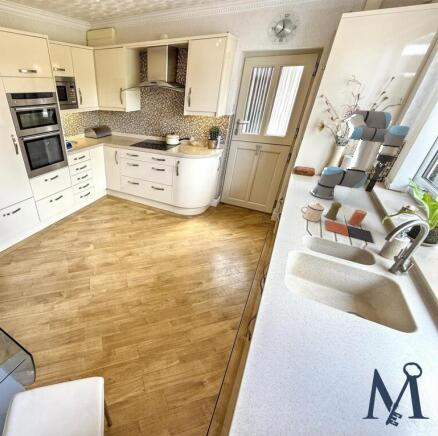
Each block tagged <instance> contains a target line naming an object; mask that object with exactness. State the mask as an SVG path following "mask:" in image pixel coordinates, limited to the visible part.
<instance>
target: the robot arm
mask: <svg viewBox="0 0 438 436" xmlns="http://www.w3.org/2000/svg"><path fill="white" fill-rule="evenodd" d="M391 122H392V114H391V113H390V112H388V111H379V110H364V109H363V110H357V111H354V112H352V113H350V114H349V115H348V116H347V117H346V119H345V125H346V127H347V128H349V129H350V131H349V133H348V139H349V140H354V141H359V142H358V144H357V147H356V149H355V152H354V155H353V157H352V160H351V163H350V165H349V166H348V167H346V168H345V170H344V168H343V167H339V166H326V167H324V169H323V170H322V172H321V173H320V174H319V175H320V177H319V179H318V182H317V184H316V185H315V186H314V187H313V188H312V189H311V191H310V194H311V195H312V196H314V197H316V198H319V199H323V200H332V199H333V198H334V197H335V188H336V186H340V187H345V188H349V189H357V190H358V189H360V188H361V187H363V185H364V184H365V183H366V182H367V179H368V174H367V170H366V166H367V163H368V161H369V159H370V156H371V153H372V151H373V149H374V146H375V144H376V143H380V144H382V145H381V146H380V149H379V151H378V154H377V155H376V157H375V161H377V162H379V163H377V164H376V165H375V168H374V172H373V174H372V176H371V178H369V179H368V181H369V182H368V184H367V186H366V187H365V190H364V191H365V192H367V193H372V191H373V190H374V188H375V186H376V184H377V182H378V180H380V178H381V177H380V175H381V173H383V171H384V170H385V169H386V167H387V165H386V164H387V163H389V164H390V163H393V162H394V160H395V158H396V155H397V154H398V152H400V151H401V149H400V148H401V147H402V146H403V145H402V144H403V143H404V141H405V139H406V138H407V135H408V134H409V131H410V126H407V125H392V126H391V127H390V129H388V128H389V126H390V124H391Z"/></svg>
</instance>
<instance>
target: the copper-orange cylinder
mask: <svg viewBox="0 0 438 436" xmlns="http://www.w3.org/2000/svg"><path fill="white" fill-rule="evenodd" d="M367 214H368V212H367V211H365V210H363V209H359V208H358V209H356V208H355V209H354V211H353V213H352V215H351V217H350V218H349V220H348V223H349V224H350V226H351V225H352V226H353V227H360V226H361V225H362V223H363V221H364V219H365V218H366V216H367Z"/></svg>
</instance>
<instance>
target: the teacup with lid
mask: <svg viewBox="0 0 438 436" xmlns="http://www.w3.org/2000/svg"><path fill="white" fill-rule="evenodd" d="M303 209H306V210H305V211H303ZM324 211H325V207H324V206H323V205H321V202H318V201H316V202H310V203H308V204H307V206H306V205H303V206H301V207H300V212H301V213H302V214H303V218H304V219H305V220H307V221H310V222H315V223H316V222H319V220H321V219H320V218H321V216H322V214H323V212H324Z"/></svg>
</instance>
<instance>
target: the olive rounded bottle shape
mask: <svg viewBox="0 0 438 436" xmlns="http://www.w3.org/2000/svg"><path fill="white" fill-rule="evenodd" d="M330 206H331V207H330V208H329V209H328V211H327V212H326V214H325V215H324V218H326V219H327V220H330V221H335V220H336V219H337V215H338V213H339V210H340V209H341V208H342V204H341V203H340V202H338V201H333V202H332V203H331V205H330Z"/></svg>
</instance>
